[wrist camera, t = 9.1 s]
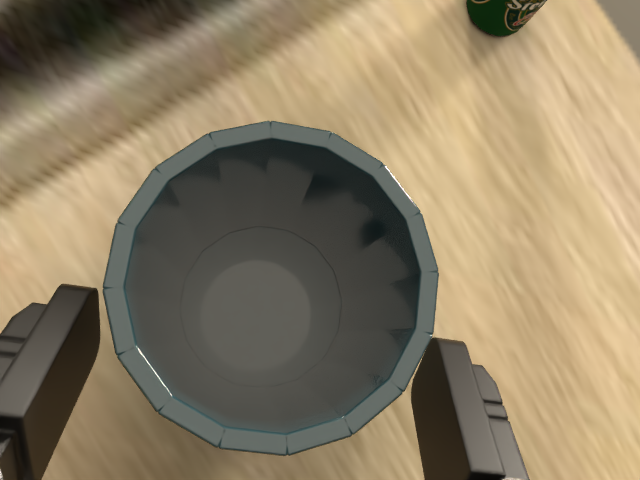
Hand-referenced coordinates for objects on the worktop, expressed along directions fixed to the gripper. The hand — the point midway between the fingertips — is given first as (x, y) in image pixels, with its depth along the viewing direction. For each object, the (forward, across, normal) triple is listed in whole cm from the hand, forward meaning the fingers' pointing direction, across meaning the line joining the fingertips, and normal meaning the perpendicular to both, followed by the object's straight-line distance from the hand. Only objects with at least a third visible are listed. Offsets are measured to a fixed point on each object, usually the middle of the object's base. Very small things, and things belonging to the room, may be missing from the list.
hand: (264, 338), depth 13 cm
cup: (+6, 0, +4) cm, 7 cm away
